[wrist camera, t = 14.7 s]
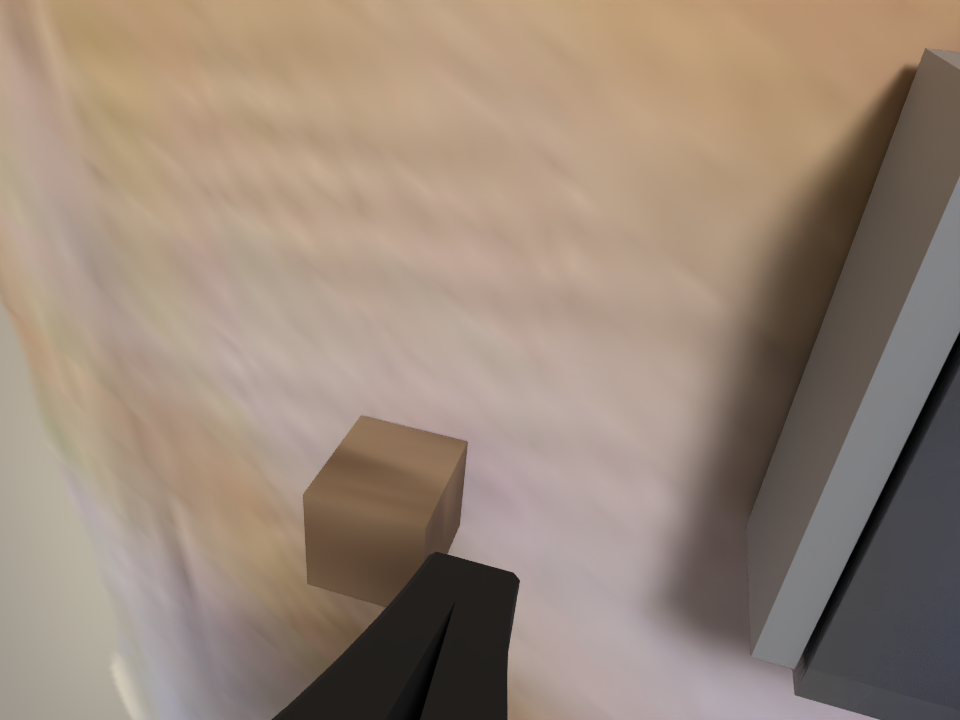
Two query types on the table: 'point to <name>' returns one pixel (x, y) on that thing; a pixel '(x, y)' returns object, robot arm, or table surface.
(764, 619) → the tray
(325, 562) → the walnut block
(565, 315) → the table surface
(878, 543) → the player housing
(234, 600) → the table surface
